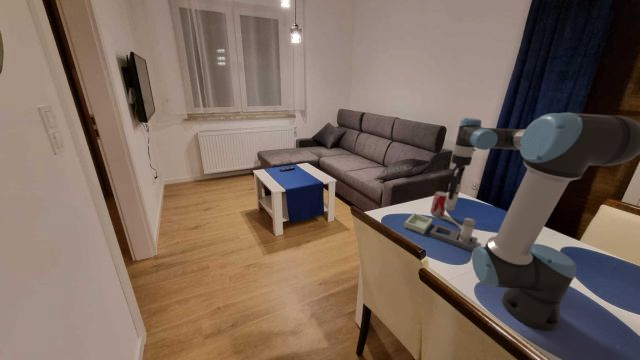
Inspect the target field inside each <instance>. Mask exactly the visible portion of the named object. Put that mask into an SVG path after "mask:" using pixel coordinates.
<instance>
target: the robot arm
mask: <svg viewBox="0 0 640 360" xmlns="http://www.w3.org/2000/svg"><path fill="white" fill-rule="evenodd" d="M475 148H476V149H477V150H478V149H479V150H483V151H487V150H490V149H501V150H502V149H503V150H516V151H519V152H520V155H521V157H522V158H523V164H524V166H525V168H526V169H527V170H526V172H525V173H524V174H525V175H524V176H523V178H522V180H521V183H520V185H519V187H518V189H517V191H516V192H515V195H514V198H513V200H512V202H511V205H510V206H509V208H508V211H507V212H506V213H505V217H504V219H503V221H502V223H501V225H500V226H499V230H498V232H497V234H496V235H495V236H491V237H489V238H488V239H487V242H486V243H485V246H482V245H481V246H479V245H478V246H475V248H474V250H473V252H472V254H471V259H472V260H471V262H472V263H471V264H472V268H473V271H474V273H475V277H476V278H477V280H478V281H479V282H480V283H481V284H482V285H485V286H491V287H494V288H505V289H506V290H505V291H504V292H503V294H502V297H501V302H502V305H503V307H504V309H505V310H506V311H507V312H508V313H509V314H510V315H511V316H512V317H513V318H515V319H516V320H518V321H519V322H520V323H523V324H524V325H526V326H529V327H531V328H533V329H536V330H541V331H553V330H556V329H557V328H558V327H559V324H560V323H561V302H562V300H563V299H564V297H565V295H566V293H567V291H568V289H569V287H570V285H571V284H572V282H573V279H574V280H575V274H576V273H577V269H578V266H577V264H576V263H575V262H574V260H573V259H572V258H570V257H569V256H568V255H567V254H565V253H563V252H562V251H559V250H557V249H555V248H554V247H551V246H548V245H544V244H541V243H536V242H537V239H538V237H539V236H540V234H541V232H542V230H543V229H544V228H545V226H546V223H547V222H548V219H549V218H550V217H551V214H552V213H553V212H554V209H555V207H556V206H557V204H558V203H559V201H560V199H561V197H562V195H563V194H564V192H565V190H566V188H567V186H568V185H569V183H570V182H572V181H574V180H580V179H581V178H582V177H583V175H584V174H585V171H587V169H588V168H589V166H597V167H598V166H599V167H602V166H603V167H606V166H610V167H611V166H617V165H621V164H624V163H626V162H629V161H631V160H633V159H635V158H636V157H638V156H639V155H640V122H638V121H636V120H634V119H633V118H629V117H627V116H621V115H617V114H616V115H613V114H612V115H611V114H610V115H609V114H608V115H607V114H592V113H590V114H589V113H579V112H578V113H576V112H560V113H557V112H553V113H547V114H543V115H540V117H538V118H536V119H534V120H533V121H532V122H531V123H530V124H528V126H527V127H526V128H524V129H523V128H522V129H521V128H520V129H516V128H497V127H496V128H494V127H483V126H482V120H481V119H479V118H472V117H464V118H462V119H461V120H460V124H459V126H458V132H457V136H456V140H455V144H454V149H453V152H452V156H451V163H452V164H455V166H453V168H452V172H451V177H450V178H451V179H450V182H449V184H450V186H449V185H448V189H449V190H448V189H447V193H448V192H449V194H448V198H447V202H446V205H450V206H453V202H454V198H455V194H456V188H457V185H458V184H459V185H461V183H462V179H463V175H464V172H465V170H466V167H469V166H470V165H471V163H472V159H473V155H474V152H476V149H475ZM461 188H462V187H460V189H461Z"/></svg>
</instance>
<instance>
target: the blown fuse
mask: <svg viewBox="0 0 640 360" xmlns="http://www.w3.org/2000/svg"><path fill="white" fill-rule="evenodd" d="M449 186H450V183H449V184H448V187H449ZM461 186H462V185H461V184H460V185H459V184H458V185H457V188H456V194H455V198H454V202H453V206H450V205H446V202H447V198H448V194H449V192H448V191H447V192H446V193H447V198H446V202H445V205H444V208H445V210H447V211H451V212H452V211H455V209H456V205H457V201H458V197H459V193H460V191H461V188H462V187H461ZM460 187H461V188H460ZM447 190H449V188H448V189H447Z"/></svg>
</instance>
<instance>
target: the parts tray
mask: <svg viewBox="0 0 640 360" xmlns="http://www.w3.org/2000/svg"><path fill="white" fill-rule="evenodd" d="M432 223H433V219H432V218H431V217H427V216H424V215H421V214H418V213H415V212H413V213H412V214H411V215H410V216H409V217H408V219H406V220H405V222H404V224H403V228H406V229H407V228H408V229H407V230H410V229H411V230H410V231H413V232H415V231H416V233H418V234H421V235H423V234H425V233H426V232H427V231H428V230H429V228H430V227H431V226H432Z"/></svg>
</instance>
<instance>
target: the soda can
mask: <svg viewBox="0 0 640 360" xmlns="http://www.w3.org/2000/svg"><path fill="white" fill-rule="evenodd" d="M447 193H448V192H445V191H442V190H441V191H440V190H439V191H435V193H434V195H433V199H432V202H431V203H432V204H431V207H430V213H431V214H432V215H433V216H434V217H436V218H437V217H438V218H440V217H441V218H442V217H443V216H444V215H445V212H446V209H445V208H444V205H445V202H446V198H447Z"/></svg>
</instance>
